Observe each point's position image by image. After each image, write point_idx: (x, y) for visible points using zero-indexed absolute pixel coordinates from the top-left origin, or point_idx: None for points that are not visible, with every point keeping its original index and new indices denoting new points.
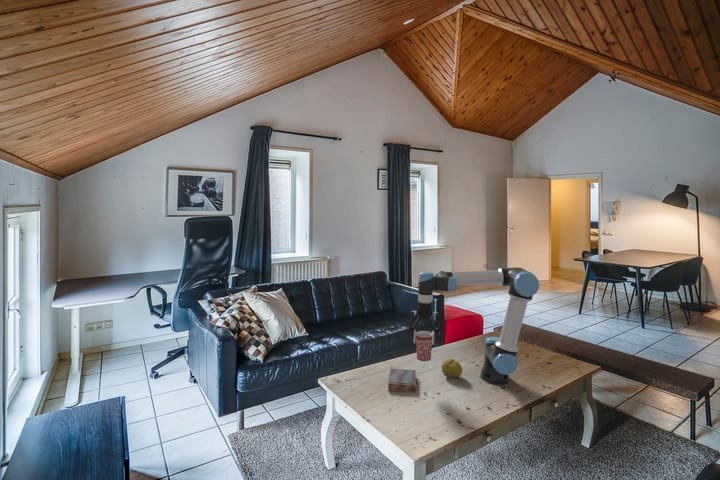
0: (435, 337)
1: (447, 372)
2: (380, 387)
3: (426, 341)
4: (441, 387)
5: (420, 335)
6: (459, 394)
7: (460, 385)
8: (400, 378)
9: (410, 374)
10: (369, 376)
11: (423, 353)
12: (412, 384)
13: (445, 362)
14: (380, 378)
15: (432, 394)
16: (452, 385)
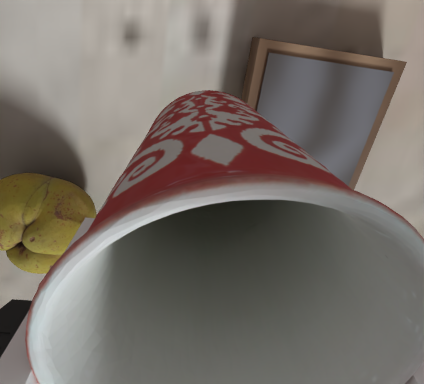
0: (11, 309)
1: (66, 185)
2: (408, 92)
3: (208, 148)
4: (111, 100)
5: (267, 361)
6: (17, 23)
7: (16, 123)
8: (325, 117)
9: None
10: (419, 191)
11: (233, 104)
12: (274, 50)
13: (63, 236)
14: (379, 176)
15: (164, 20)
16: (56, 122)
